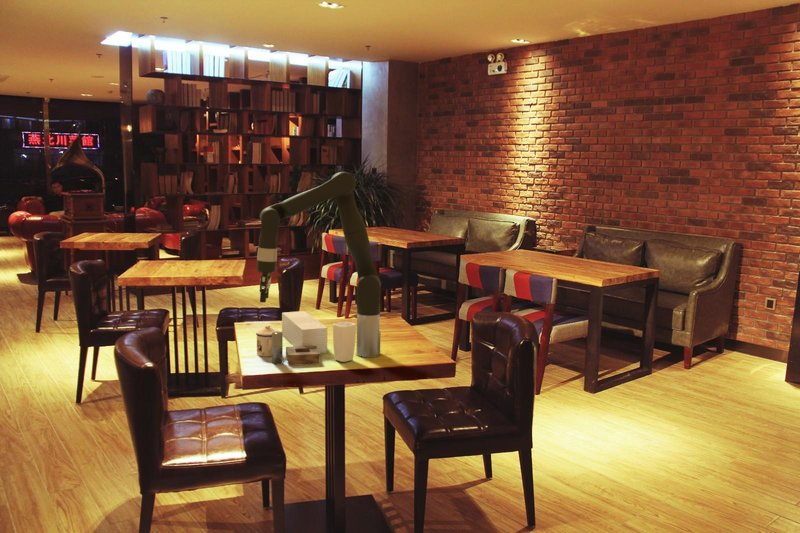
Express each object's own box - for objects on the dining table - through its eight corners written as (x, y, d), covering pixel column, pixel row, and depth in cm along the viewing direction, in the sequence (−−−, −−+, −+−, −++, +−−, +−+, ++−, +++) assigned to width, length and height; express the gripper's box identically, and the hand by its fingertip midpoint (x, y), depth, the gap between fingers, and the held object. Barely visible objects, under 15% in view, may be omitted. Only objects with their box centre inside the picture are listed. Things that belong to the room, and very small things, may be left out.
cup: (330, 360, 277) (331, 323, 275) (345, 356, 282) (345, 320, 280) (342, 364, 272) (343, 327, 270) (356, 360, 277) (357, 324, 275)
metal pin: (282, 361, 274) (282, 331, 272) (282, 364, 270) (282, 333, 268) (271, 361, 273) (271, 331, 271) (272, 364, 269) (272, 334, 267)
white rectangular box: (327, 353, 288) (327, 327, 286) (302, 355, 283) (302, 329, 281) (305, 334, 316) (305, 310, 315) (281, 336, 312) (281, 312, 310)
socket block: (315, 355, 283) (315, 345, 283) (319, 363, 272) (319, 353, 271) (285, 356, 280) (285, 346, 280) (288, 365, 269) (288, 355, 268)
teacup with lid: (254, 351, 286) (254, 323, 284) (277, 349, 289) (277, 322, 287) (258, 359, 275) (258, 330, 273) (282, 358, 278) (282, 329, 276)
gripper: (274, 262, 265) (271, 304, 267) (278, 257, 279) (275, 297, 281) (254, 261, 264) (252, 303, 266) (259, 256, 278) (256, 296, 281)
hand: (264, 300), depth 274 cm, fingers open, 8 cm apart
